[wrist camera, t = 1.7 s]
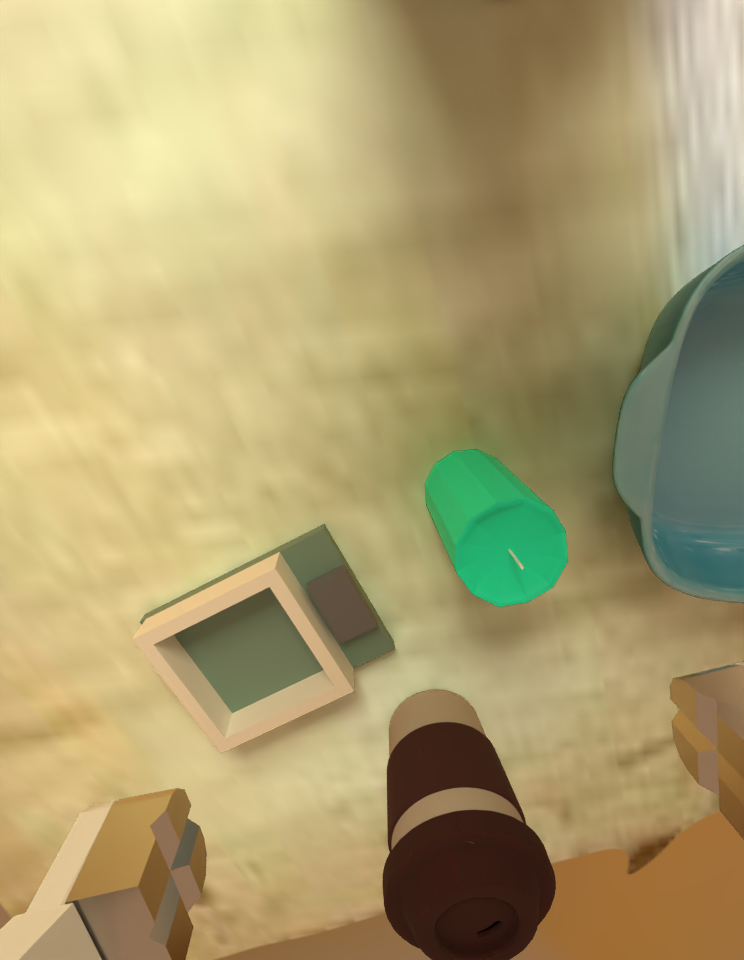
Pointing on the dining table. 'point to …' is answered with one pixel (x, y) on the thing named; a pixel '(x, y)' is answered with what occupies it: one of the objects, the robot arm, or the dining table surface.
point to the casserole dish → (690, 438)
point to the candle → (495, 529)
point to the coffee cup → (458, 838)
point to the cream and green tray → (265, 640)
